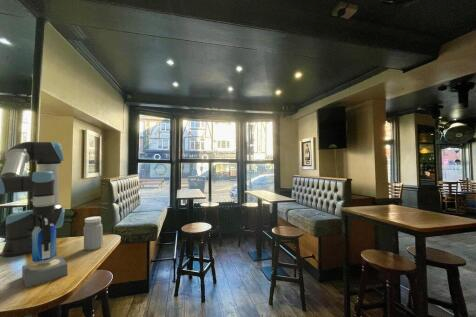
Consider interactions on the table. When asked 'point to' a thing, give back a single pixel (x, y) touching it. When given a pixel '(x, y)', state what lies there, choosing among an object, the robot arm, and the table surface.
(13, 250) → the robot arm
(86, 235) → the jar
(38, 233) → the beer can
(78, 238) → the table surface
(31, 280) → the riser
